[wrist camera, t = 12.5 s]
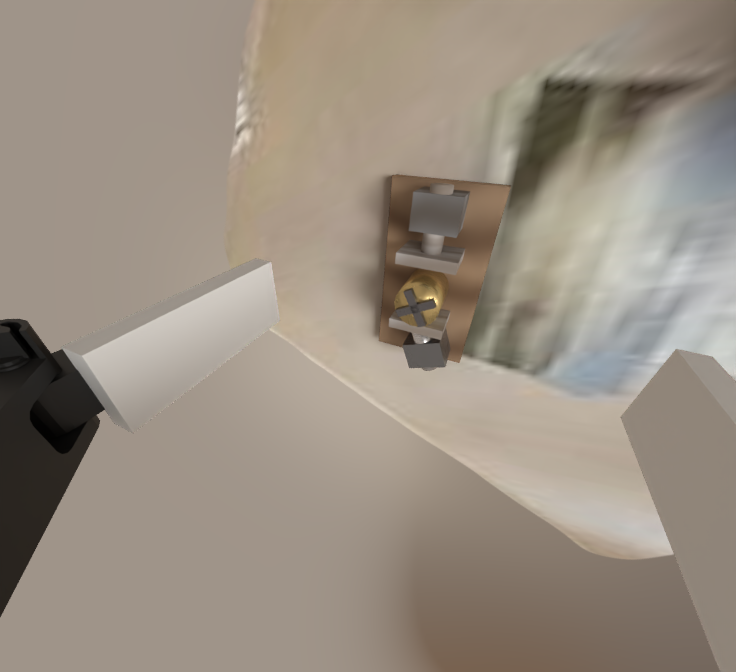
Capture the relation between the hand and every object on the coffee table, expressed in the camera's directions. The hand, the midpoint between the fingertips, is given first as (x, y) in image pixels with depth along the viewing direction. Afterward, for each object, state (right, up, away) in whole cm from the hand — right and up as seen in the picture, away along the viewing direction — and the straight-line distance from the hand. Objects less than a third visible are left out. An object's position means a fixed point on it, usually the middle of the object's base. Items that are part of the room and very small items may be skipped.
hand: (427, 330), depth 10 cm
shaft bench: (+6, +7, +27) cm, 28 cm away
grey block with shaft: (+6, 0, +30) cm, 30 cm away
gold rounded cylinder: (+5, +6, +26) cm, 27 cm away
